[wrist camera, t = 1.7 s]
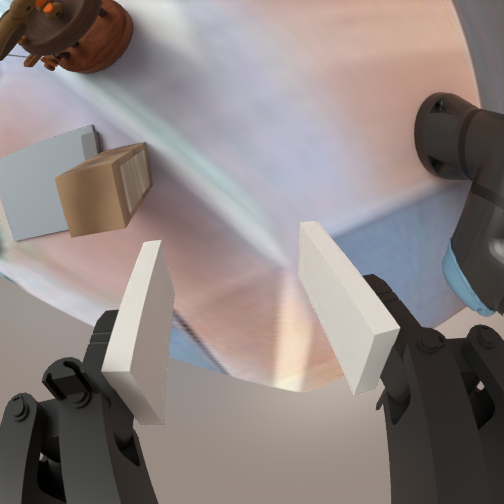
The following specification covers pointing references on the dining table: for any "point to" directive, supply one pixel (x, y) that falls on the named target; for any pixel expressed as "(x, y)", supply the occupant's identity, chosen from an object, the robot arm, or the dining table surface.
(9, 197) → the mat
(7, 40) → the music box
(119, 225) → the brown rectangular block
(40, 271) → the dining table surface
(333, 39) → the dining table surface
